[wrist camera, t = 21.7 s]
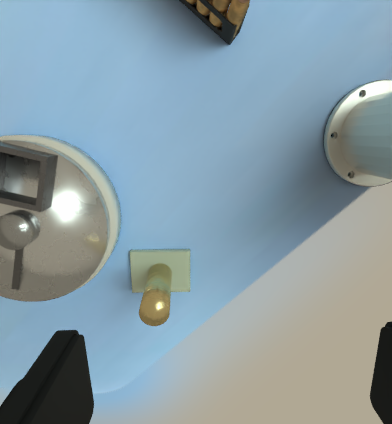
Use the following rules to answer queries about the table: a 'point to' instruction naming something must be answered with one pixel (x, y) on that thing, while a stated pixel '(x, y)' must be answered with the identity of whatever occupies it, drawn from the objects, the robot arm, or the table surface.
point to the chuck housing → (98, 177)
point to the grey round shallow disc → (47, 222)
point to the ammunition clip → (220, 15)
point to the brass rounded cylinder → (156, 295)
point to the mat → (170, 257)
